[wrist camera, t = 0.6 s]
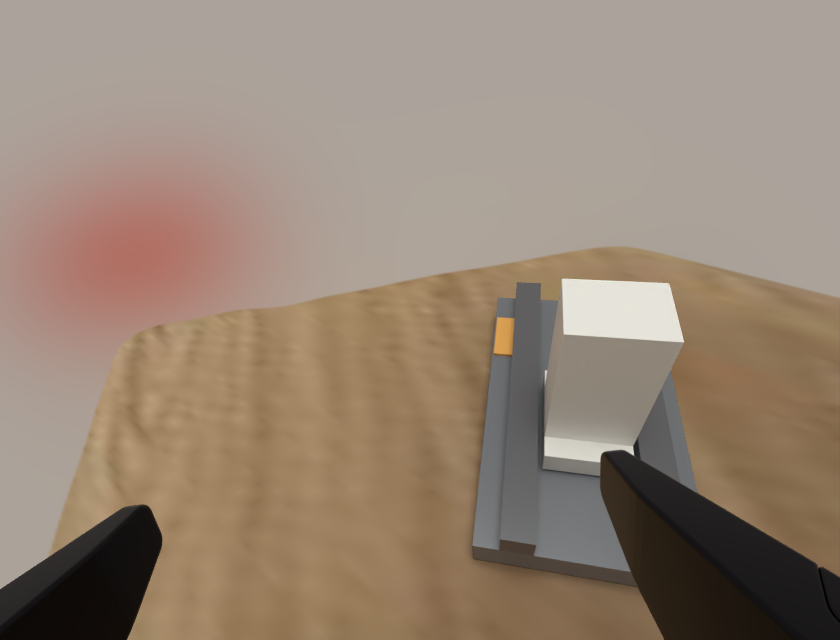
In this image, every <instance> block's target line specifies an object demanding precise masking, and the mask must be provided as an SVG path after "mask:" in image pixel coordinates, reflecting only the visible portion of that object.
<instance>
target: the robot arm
mask: <svg viewBox="0 0 840 640" xmlns="http://www.w3.org/2000/svg"><path fill="white" fill-rule="evenodd" d="M600 490H601V495H602V498H603V501H604V504H605V506H606V509H607V512H608V514H609V517H610V519H611V522H612V525H613V527H614V530H615V532H616V535H617V538H618V540H619V543H620V545H621V548H622V551H623V553H624V556H625V559H626V561H627V564H628V566H629V569H630V571H631V574H632V576H633V578H634V580H635V582H636V584H637V586H638V588H639V590H640V592H641V594H642V596H643V598H644V600H645V602H646V604H647V606H648V608H649V610H650V612H651V614H652V616H653V618H654V620H655V622H656V624H657V626H658V628H659V630H660V632H661V634H662V636H663V638H664V640H840V577H839V576H837V575H835V574H834V573H832V572H830V571H829V570H827V569H825V568H824V567H819V568H818V565H817V564H816V563H815V562H813V561H811V560H810V559H808V558H806V557H805V556H803V555H801V554H800V553H798V552H796V551H795V550H793V549H791V548H789V547H788V546H786V545H784V544H783V543H781V542H779V541H778V540H776V539H774V538H773V537H771V536H769V535H767V534H766V533H764V532H762V531H761V530H759V529H757V528H756V527H754V526H752V525H751V524H749V523H747V522H745V521H744V520H742V519H740V518H739V517H737V516H735V515H734V514H732V513H730V512H729V511H727V510H725V509H724V508H722V507H720V506H718V505H717V504H715V503H713V502H712V501H710V500H708V499H707V498H705V497H703V496H702V495H700V494H698V493H696V492H695V491H693V490H691V489H690V488H688V487H686V486H685V485H683V484H681V483H680V482H678V481H676V480H674V479H673V478H671V477H669V476H668V475H666V474H664V473H663V472H661V471H659V470H658V469H656V468H654V467H652V466H651V465H649V464H647V463H646V462H644V461H642V460H641V459H639V458H637V457H636V456H634V455H632V454H630V453H629V452H627V451H625V450H612V451H605V452H603V453H602V454H601V458H600ZM161 547H162V534H161V531H160V529H159V527H158V525H157V522H156V520H155V518H154V515H153V513H152V511H151V509H150V508H149V507H148V506H147V505H134V506H127V507H124V508H122V509H120V510H119V511H117V512H116V513H114V514H113V515H111V516H110V517H108V518H107V519H105V520H104V521H102V522H101V523H99V524H98V525H96V526H95V527H93V528H92V529H90V530H89V531H87V532H86V533H84V534H83V535H81V536H80V537H78V538H77V539H75V540H74V541H72V542H71V543H69V544H68V545H66V546H65V547H63V548H62V549H60V550H59V551H57V552H56V553H54V554H53V555H51V556H50V557H48V558H47V559H45V560H43V561H42V562H41V563H39V564H37V565H36V566H34V567H33V568H31V569H30V570H28V571H27V572H25V573H24V574H22V575H21V576H19V577H18V578H16V579H15V580H13V581H12V582H10V583H9V584H7V585H6V586H4V587H3V588H1V589H0V640H127V639H128V636H129V634H130V632H131V629H132V627H133V624H134V622H135V619H136V617H137V614H138V611H139V609H140V606H141V603H142V600H143V598H144V595H145V592H146V589H147V586H148V584H149V581H150V578H151V575H152V573H153V570H154V567H155V564H156V562H157V559H158V556H159V553H160V551H161Z"/></svg>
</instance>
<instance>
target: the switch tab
mask: <svg viewBox="0 0 840 640" xmlns="http://www.w3.org/2000/svg"><path fill="white" fill-rule="evenodd" d="M683 344H684V340H683V336H682V332H681V328H680V324H679V320H678V316H677V313H676V309H675V305H674V301H673V297H672V293H671V289H670V285H669V283H650V282H627V281H603V280H580V279H562V282H561V288H560V295H559V301H558V307H557V313H556V320H555V326H554V332H553V338H552V344H551V351H550V357H549V363H548V369H547V370H545V374H544V380H543V409H542V469H548V470H556V471H564V472H572V473H580V474H588V475H595V476H600V458H601V454H602V453H603V452H605V451H612V450H625V451H627V452H629V453H630V454H632V455H634V451H633V445H634V443H635V441H636V439H637V437H638V435H639V433H640V431H641V429H642V427H643V425H644V423H645V421H646V419H647V417H648V415H649V413H650V411H651V409H652V407H653V405H654V403H655V401H656V399H657V397H658V395H659V392H660V390H661V388H662V386H663V384H664V382H665V380H666V378H667V376H668V374H669V372H670V370H671V368H672V366H673V364H674V362H675V360H676V358H677V356H678V354H679V352H680V350H681V348H682V346H683Z"/></svg>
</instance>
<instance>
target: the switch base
mask: <svg viewBox="0 0 840 640" xmlns="http://www.w3.org/2000/svg"><path fill="white" fill-rule="evenodd" d="M540 290H541V283H519V282H517V289H516V299H512V298H498V302H497V312H496V322H495V332H494V341H493V351H492V361H491V370H490V380H489V390H488V399H487V409H486V419H485V428H484V438H483V448H482V457H481V467H480V477H479V486H478V496H477V506H476V515H475V525H474V535H473V544H472V547H473V559H478V560H484V561H490V562H496V563H501V564H507V565H513V566H519V567H525V568H531V569H537V570H542V571H548V572H554V573H560V574H566V575H572V576H578V577H583V578H589V579H595V580H601V581H607V582H613V583H619V584H624V585H630V586H636V587H638V586H637V584H636V582H635V580H634V578H633V576H632V574H631V571H630V569H629V566H628V564H627V561H626V559H625V556H624V553H623V551H622V548H621V545H620V543H619V540H618V538H617V535H616V532H615V530H614V527H613V525H612V522H611V519H610V517H609V514H608V512H607V509H606V506H605V504H604V501H603V498H602V495H601V490H600V476H595V475H588V474H580V473H572V472H564V471H556V470H548V469H542V409H543V380H544V374H545V370H547V369H548V363H549V357H550V351H551V344H552V338H553V332H554V326H555V320H556V313H557V307H558V301H550V300H540ZM633 451H634V456H636V457H637V458H639V459H641V460H642V461H644V462H646V463H647V464H649V465H651V466H652V467H654V468H656V469H658V470H659V471H661V472H663V473H664V474H666V475H668V476H669V477H671V478H673V479H674V480H676V481H678V482H680V483H681V484H683V485H685V486H686V487H688V488H690V489H691V490H693V491H695V492H696V493H697V489H696V485H695V480H694V476H693V471H692V466H691V462H690V457H689V453H688V448H687V443H686V439H685V434H684V430H683V425H682V420H681V416H680V411H679V407H678V402H677V397H676V393H675V388H674V384H673V379H672V375H671V370H670V372H669V374H668V376H667V378H666V380H665V382H664V384H663V386H662V388H661V390H660V392H659V395H658V397H657V399H656V401H655V403H654V405H653V407H652V409H651V411H650V413H649V415H648V417H647V419H646V421H645V423H644V425H643V427H642V429H641V431H640V433H639V435H638V437H637V439H636V441H635V443H634V445H633Z"/></svg>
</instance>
